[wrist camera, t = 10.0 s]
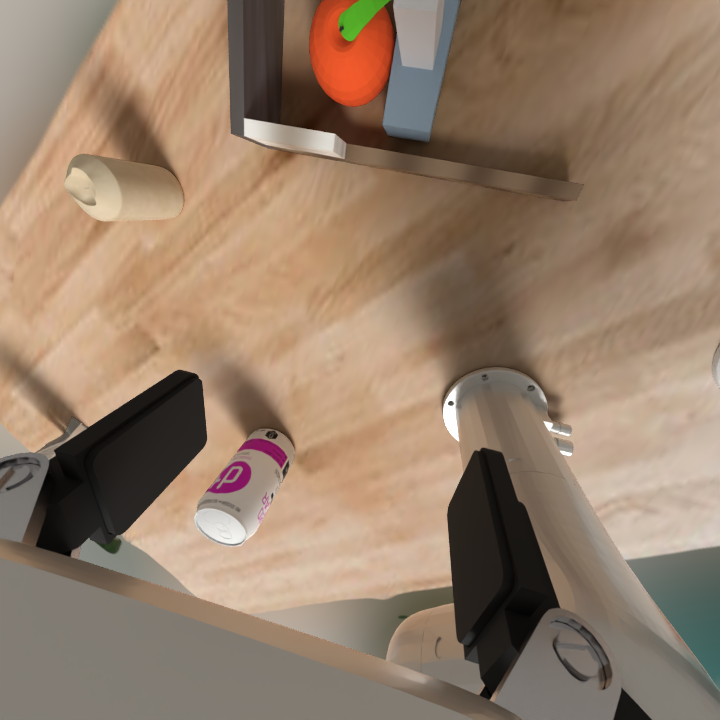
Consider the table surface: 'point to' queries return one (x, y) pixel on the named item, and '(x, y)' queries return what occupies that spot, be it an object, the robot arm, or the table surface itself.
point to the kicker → (418, 65)
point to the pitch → (262, 126)
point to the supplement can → (245, 488)
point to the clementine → (352, 49)
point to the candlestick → (716, 367)
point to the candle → (123, 189)
